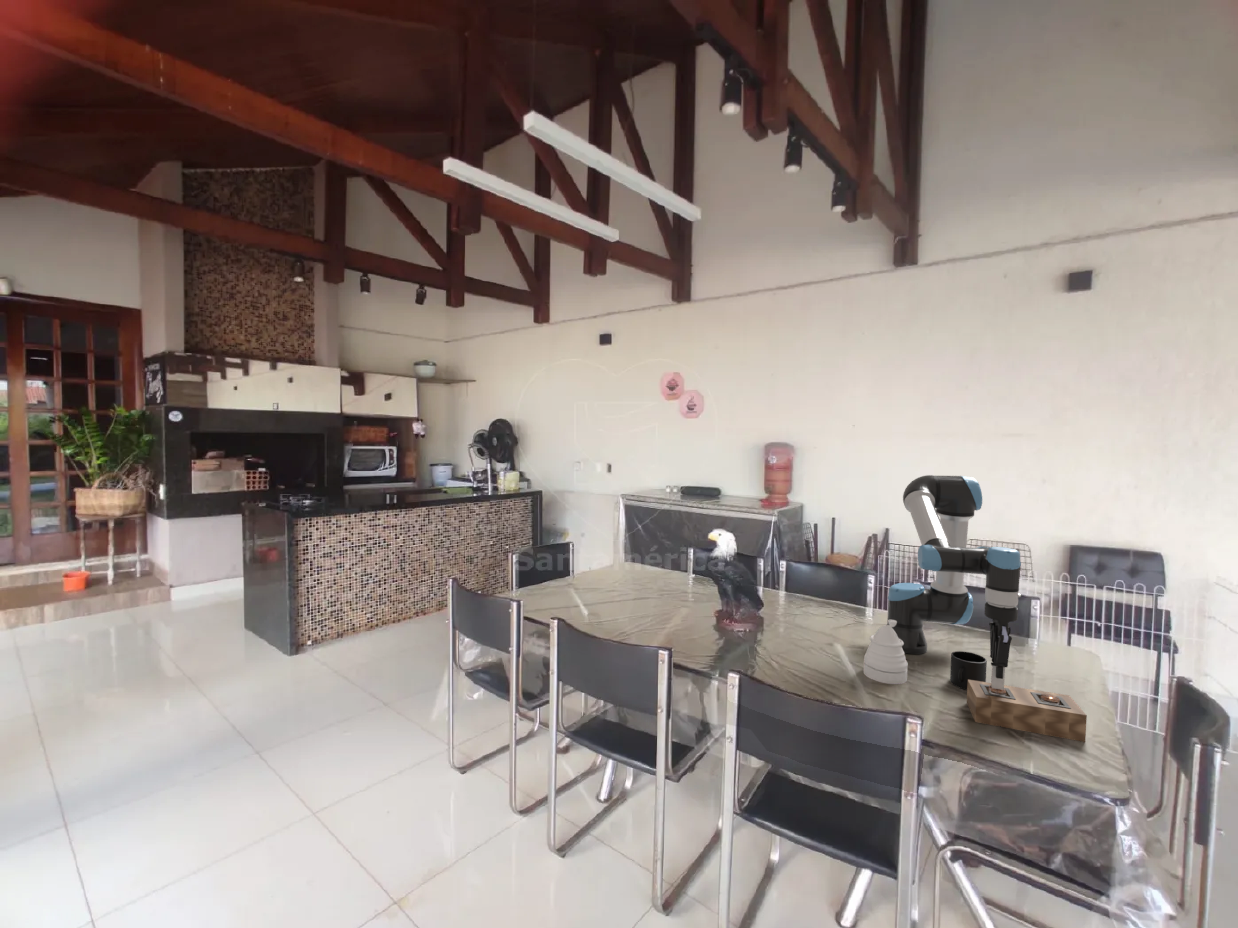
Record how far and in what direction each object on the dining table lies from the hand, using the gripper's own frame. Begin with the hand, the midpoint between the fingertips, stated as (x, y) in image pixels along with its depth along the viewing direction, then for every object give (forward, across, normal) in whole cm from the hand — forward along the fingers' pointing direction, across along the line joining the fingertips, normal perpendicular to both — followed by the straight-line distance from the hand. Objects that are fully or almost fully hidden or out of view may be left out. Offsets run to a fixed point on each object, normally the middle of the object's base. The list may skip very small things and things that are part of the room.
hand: (997, 687), depth 152 cm
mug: (+8, +19, +4) cm, 21 cm away
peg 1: (+7, 0, 0) cm, 7 cm away
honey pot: (+8, +17, +27) cm, 33 cm away
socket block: (+8, 0, -6) cm, 10 cm away
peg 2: (+8, 0, -12) cm, 14 cm away
